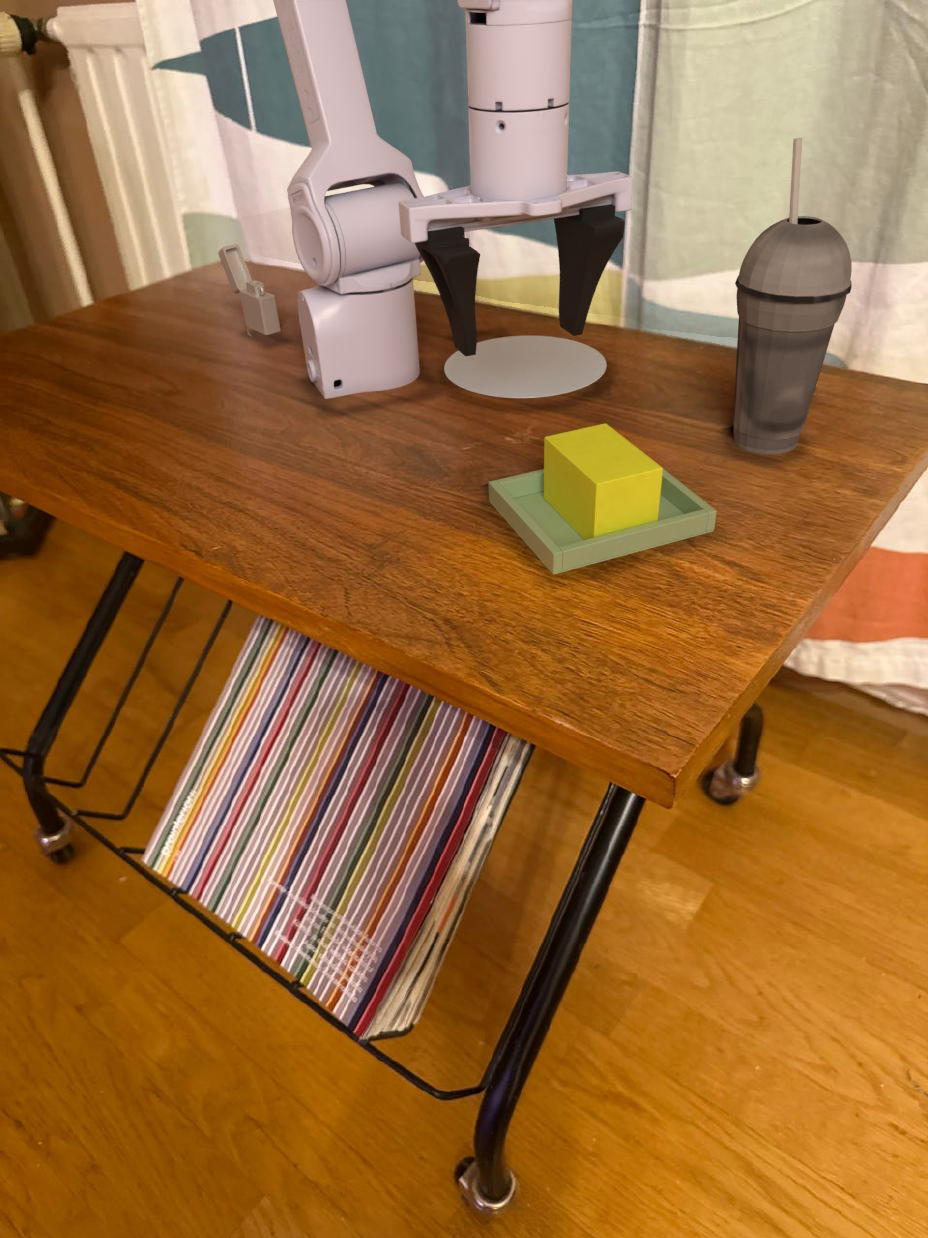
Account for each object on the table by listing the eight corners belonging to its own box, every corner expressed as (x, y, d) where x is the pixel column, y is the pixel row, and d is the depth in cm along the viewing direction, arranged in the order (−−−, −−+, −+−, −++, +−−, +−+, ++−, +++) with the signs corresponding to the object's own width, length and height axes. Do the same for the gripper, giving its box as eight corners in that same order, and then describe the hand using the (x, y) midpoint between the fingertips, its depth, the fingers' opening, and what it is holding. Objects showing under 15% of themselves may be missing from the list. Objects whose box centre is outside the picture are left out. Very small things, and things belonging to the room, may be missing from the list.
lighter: (283, 340, 87) (269, 254, 83) (267, 344, 87) (252, 258, 82) (247, 323, 92) (232, 240, 87) (232, 327, 91) (216, 244, 86)
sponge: (593, 549, 55) (596, 484, 52) (543, 498, 60) (543, 436, 57) (657, 532, 56) (663, 467, 53) (602, 483, 61) (606, 422, 59)
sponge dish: (553, 579, 53) (553, 554, 52) (488, 505, 61) (488, 481, 59) (713, 535, 56) (717, 510, 55) (634, 469, 64) (636, 446, 62)
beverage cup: (800, 476, 62) (867, 154, 50) (698, 454, 65) (738, 146, 53) (828, 434, 67) (895, 131, 54) (732, 415, 70) (775, 125, 58)
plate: (481, 422, 71) (481, 410, 70) (421, 362, 81) (421, 351, 81) (636, 388, 75) (637, 377, 74) (560, 336, 85) (560, 325, 85)
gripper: (421, 128, 46) (437, 382, 54) (668, 100, 50) (647, 340, 58) (379, 109, 51) (399, 344, 59) (605, 85, 55) (594, 308, 63)
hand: (519, 340), depth 59 cm, fingers open, 7 cm apart
